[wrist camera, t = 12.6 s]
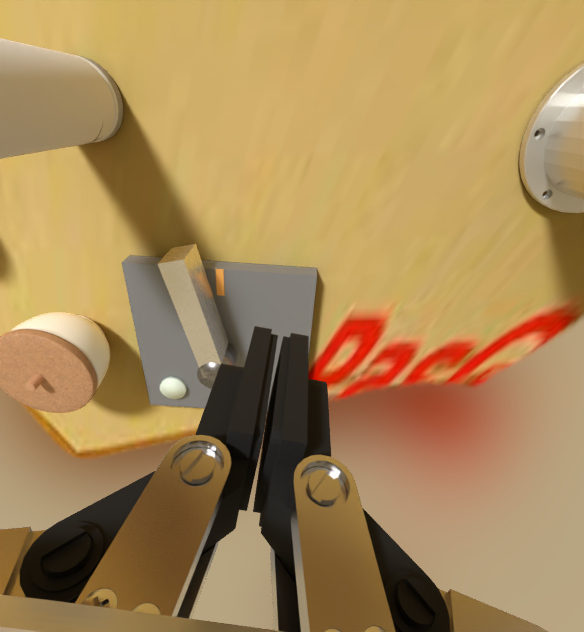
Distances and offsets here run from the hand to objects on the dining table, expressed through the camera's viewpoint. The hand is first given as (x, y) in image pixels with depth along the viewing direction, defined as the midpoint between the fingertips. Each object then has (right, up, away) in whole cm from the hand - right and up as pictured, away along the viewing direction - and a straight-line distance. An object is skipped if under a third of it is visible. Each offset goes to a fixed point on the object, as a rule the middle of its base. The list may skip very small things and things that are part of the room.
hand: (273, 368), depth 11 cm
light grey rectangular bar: (-8, +3, +27) cm, 28 cm away
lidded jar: (-25, -1, +32) cm, 41 cm away
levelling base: (-7, -1, +32) cm, 33 cm away
